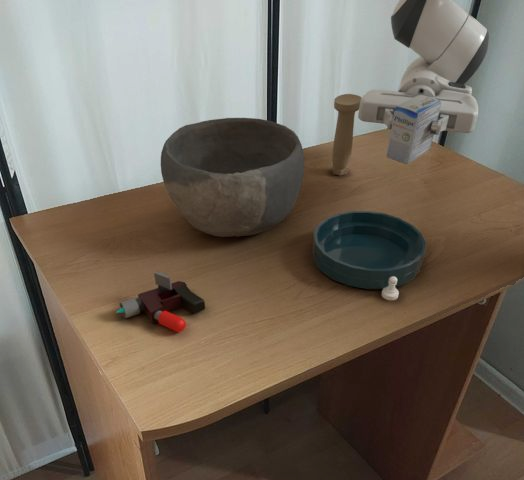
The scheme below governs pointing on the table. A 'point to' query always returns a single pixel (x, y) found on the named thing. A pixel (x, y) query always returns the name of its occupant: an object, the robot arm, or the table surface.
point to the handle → (344, 132)
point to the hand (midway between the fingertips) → (413, 127)
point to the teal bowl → (368, 249)
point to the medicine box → (412, 128)
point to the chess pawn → (391, 290)
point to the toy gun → (164, 303)
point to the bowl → (233, 174)
